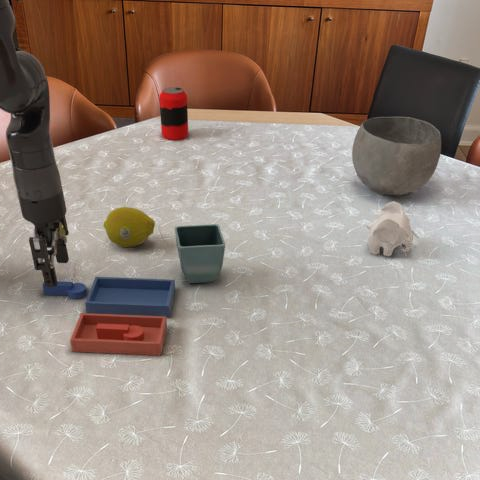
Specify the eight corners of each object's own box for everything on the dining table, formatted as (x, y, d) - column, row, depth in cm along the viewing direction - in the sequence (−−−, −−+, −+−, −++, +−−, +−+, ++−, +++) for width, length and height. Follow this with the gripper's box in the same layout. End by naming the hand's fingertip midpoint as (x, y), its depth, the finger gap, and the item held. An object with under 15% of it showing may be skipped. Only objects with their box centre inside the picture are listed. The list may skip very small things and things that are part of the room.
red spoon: (96, 342, 112) (94, 331, 111) (100, 330, 115) (98, 319, 113) (142, 344, 112) (141, 333, 110) (145, 332, 115) (144, 321, 113)
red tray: (72, 351, 111) (70, 340, 109) (82, 324, 117) (80, 312, 115) (161, 355, 110) (160, 343, 109) (167, 327, 116) (166, 316, 115)
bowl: (376, 214, 151) (387, 148, 141) (332, 180, 165) (339, 118, 154) (448, 200, 158) (463, 136, 147) (399, 168, 171) (411, 108, 161)
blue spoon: (42, 297, 123) (40, 287, 121) (47, 287, 125) (45, 277, 124) (84, 299, 123) (83, 289, 121) (88, 289, 125) (87, 279, 124)
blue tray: (86, 313, 119) (84, 302, 117) (97, 287, 126) (95, 276, 124) (169, 317, 119) (168, 306, 117) (175, 290, 125) (174, 279, 124)
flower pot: (219, 264, 133) (218, 223, 127) (225, 287, 127) (225, 244, 121) (176, 267, 132) (173, 225, 126) (180, 290, 126) (178, 247, 119)
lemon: (99, 249, 137) (94, 213, 131) (114, 233, 142) (110, 197, 137) (147, 257, 135) (144, 221, 129) (160, 240, 140) (158, 204, 135)
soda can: (193, 136, 186) (192, 90, 177) (174, 142, 182) (171, 96, 173) (175, 129, 189) (173, 84, 181) (156, 135, 185) (153, 90, 177)
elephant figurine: (414, 265, 134) (423, 225, 128) (356, 256, 137) (362, 216, 131) (418, 244, 141) (427, 205, 135) (363, 236, 143) (370, 196, 137)
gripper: (29, 171, 115) (47, 254, 126) (4, 206, 105) (26, 293, 116) (71, 172, 115) (86, 255, 126) (50, 207, 104) (68, 294, 116)
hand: (57, 273), depth 121 cm, fingers open, 8 cm apart
